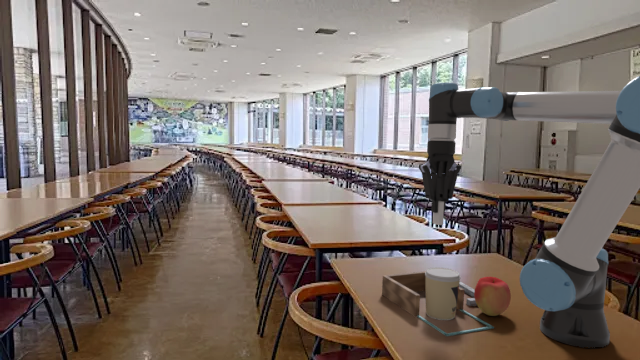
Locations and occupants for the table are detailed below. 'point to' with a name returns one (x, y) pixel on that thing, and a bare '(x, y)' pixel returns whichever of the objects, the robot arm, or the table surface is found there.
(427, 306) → the coffee cup
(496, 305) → the apple
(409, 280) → the cubby
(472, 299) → the crook tool
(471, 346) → the table surface
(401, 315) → the table surface
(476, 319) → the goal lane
